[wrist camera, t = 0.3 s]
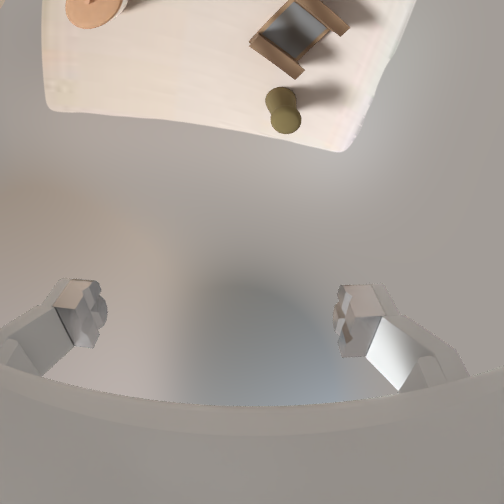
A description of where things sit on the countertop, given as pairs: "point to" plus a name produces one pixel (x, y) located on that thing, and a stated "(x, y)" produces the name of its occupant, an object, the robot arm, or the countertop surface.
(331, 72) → the countertop surface
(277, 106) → the olive green bulbous cylinder
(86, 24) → the lidded jar
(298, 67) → the holder
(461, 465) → the robot arm
